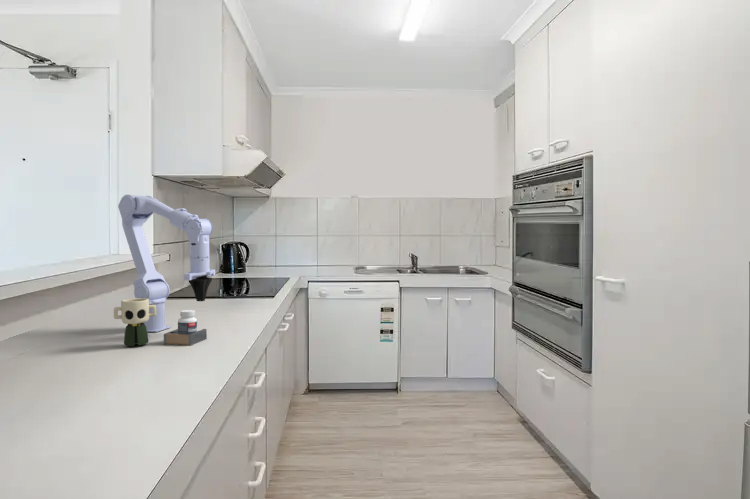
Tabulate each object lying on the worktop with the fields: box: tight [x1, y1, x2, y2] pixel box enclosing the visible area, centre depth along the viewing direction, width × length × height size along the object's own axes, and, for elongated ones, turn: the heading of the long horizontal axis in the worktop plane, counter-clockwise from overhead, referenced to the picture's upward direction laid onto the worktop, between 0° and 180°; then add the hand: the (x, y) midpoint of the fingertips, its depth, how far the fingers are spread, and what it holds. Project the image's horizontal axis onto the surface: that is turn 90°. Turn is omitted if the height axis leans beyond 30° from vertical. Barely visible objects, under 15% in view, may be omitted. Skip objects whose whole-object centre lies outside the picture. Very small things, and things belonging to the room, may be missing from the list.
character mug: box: [113, 297, 157, 347], centre depth 141 cm, size 11×7×13 cm, turn 114°
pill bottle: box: [177, 309, 198, 334], centre depth 146 cm, size 5×5×9 cm
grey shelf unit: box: [163, 328, 208, 346], centre depth 146 cm, size 9×8×3 cm
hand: (200, 301), depth 156 cm, fingers closed
